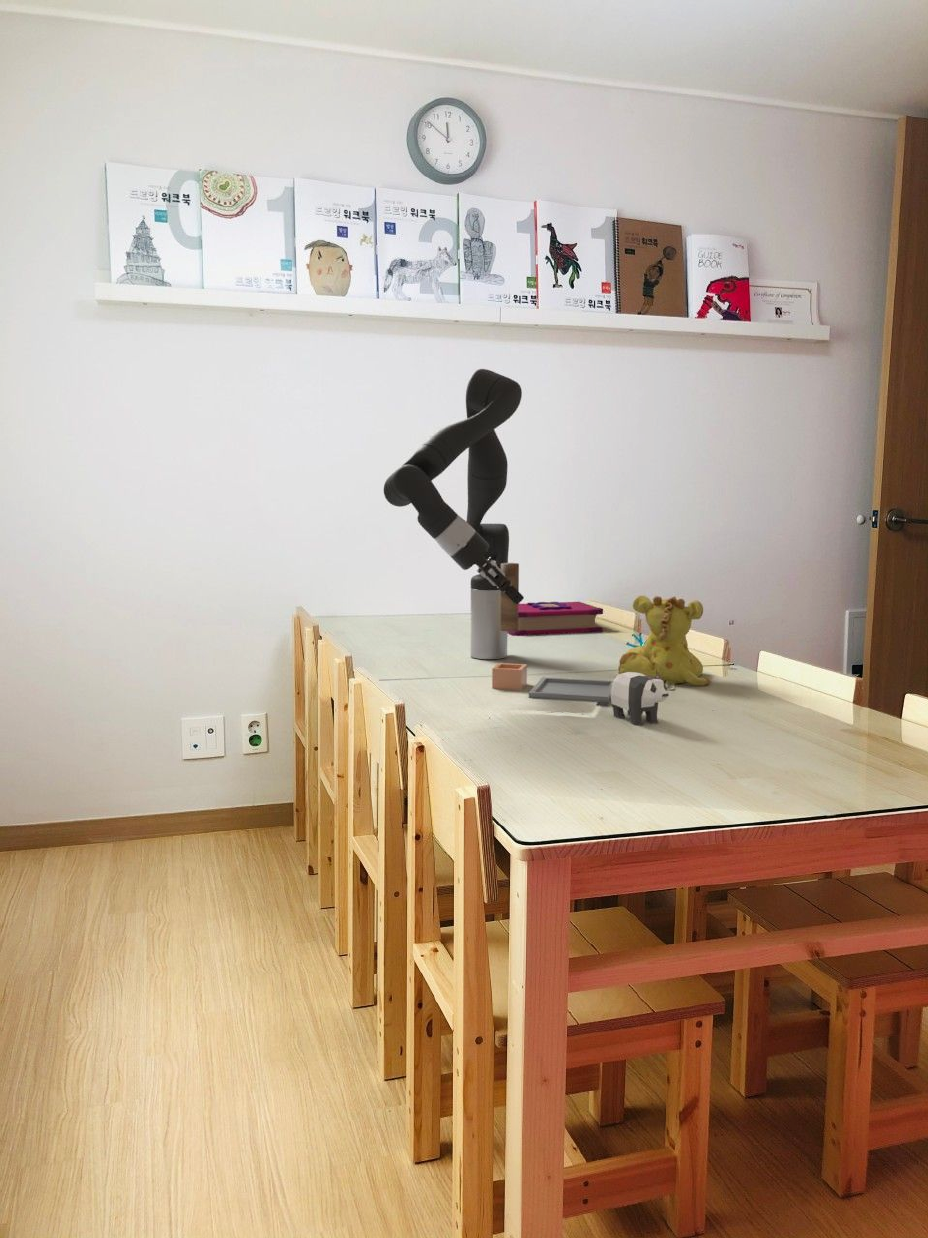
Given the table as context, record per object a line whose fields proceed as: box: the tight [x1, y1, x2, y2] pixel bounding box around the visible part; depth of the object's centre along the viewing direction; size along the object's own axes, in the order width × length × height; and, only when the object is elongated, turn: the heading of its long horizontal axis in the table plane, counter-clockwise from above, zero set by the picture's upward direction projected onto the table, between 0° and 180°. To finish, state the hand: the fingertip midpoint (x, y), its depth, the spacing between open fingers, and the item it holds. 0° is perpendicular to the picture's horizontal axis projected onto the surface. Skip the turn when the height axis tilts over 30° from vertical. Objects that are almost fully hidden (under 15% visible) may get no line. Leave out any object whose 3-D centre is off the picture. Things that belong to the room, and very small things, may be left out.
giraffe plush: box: [617, 594, 711, 691], centre depth 226 cm, size 20×24×19 cm
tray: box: [528, 676, 614, 707], centre depth 211 cm, size 16×16×2 cm
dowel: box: [500, 562, 520, 631], centre depth 213 cm, size 4×4×14 cm
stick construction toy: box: [625, 632, 647, 650], centre depth 251 cm, size 12×7×8 cm
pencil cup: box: [491, 662, 528, 691], centre depth 216 cm, size 6×6×5 cm
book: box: [507, 601, 604, 637], centre depth 300 cm, size 21×28×8 cm
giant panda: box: [610, 672, 669, 726], centre depth 188 cm, size 15×6×10 cm, turn 25°
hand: (518, 599), depth 213 cm, fingers closed on dowel, 3 cm apart
